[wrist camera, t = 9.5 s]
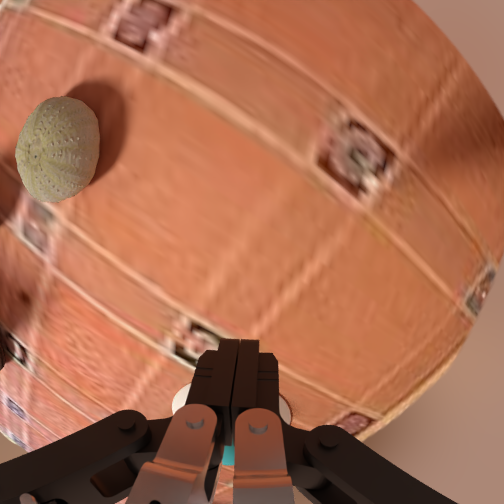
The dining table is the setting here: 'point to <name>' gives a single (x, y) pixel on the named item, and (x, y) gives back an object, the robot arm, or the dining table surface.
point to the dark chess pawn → (2, 357)
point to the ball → (228, 455)
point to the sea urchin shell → (58, 149)
